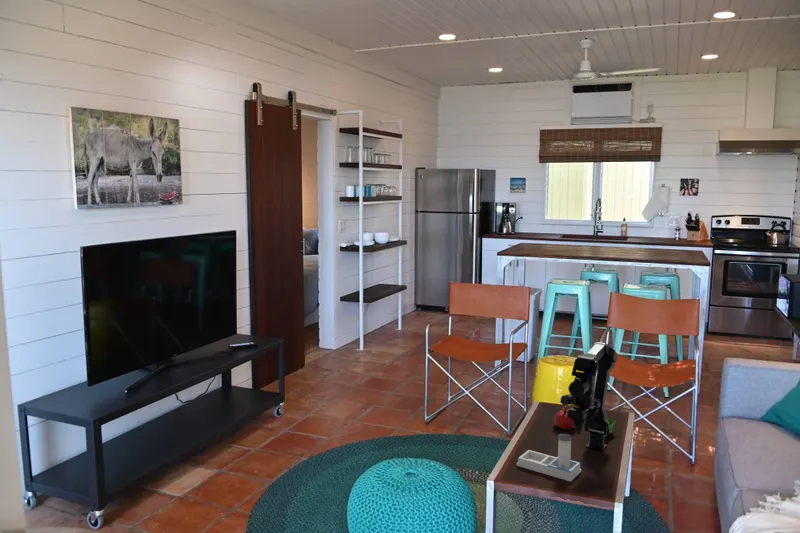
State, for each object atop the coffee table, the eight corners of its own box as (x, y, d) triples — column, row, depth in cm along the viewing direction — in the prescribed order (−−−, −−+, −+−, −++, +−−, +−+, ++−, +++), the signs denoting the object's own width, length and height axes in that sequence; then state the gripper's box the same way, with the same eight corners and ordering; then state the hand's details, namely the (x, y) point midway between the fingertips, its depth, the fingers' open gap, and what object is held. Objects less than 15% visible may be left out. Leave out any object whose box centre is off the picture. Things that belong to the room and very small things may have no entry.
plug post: (560, 465, 234) (561, 432, 232) (572, 469, 231) (573, 435, 229) (554, 470, 230) (555, 436, 228) (567, 474, 227) (568, 440, 225)
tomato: (560, 433, 268) (560, 412, 267) (549, 423, 278) (549, 403, 276) (581, 430, 270) (582, 409, 269) (570, 421, 280) (570, 401, 279)
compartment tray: (528, 456, 244) (528, 448, 244) (581, 471, 232) (581, 462, 231) (516, 465, 237) (517, 456, 236) (570, 481, 224) (571, 472, 224)
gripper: (573, 379, 247) (572, 417, 249) (554, 391, 233) (552, 432, 235) (601, 385, 241) (600, 424, 243) (583, 398, 226) (581, 440, 228)
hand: (583, 430), depth 237 cm, fingers open, 9 cm apart
